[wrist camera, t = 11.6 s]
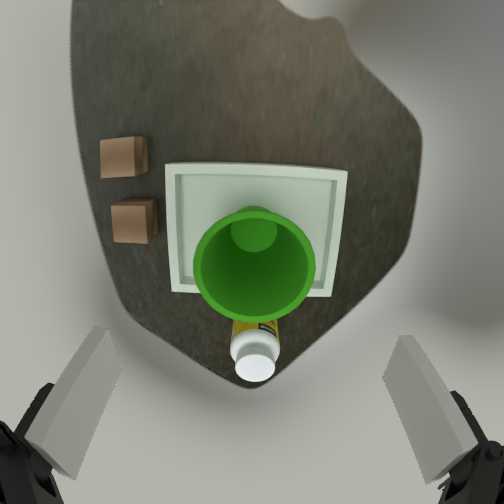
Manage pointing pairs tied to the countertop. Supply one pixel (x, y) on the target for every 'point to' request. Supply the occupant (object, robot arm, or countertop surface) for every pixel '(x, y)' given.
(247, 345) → the supplement bottle
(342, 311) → the countertop surface
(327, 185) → the tray
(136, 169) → the walnut block
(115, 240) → the walnut block
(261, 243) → the cup
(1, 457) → the robot arm
